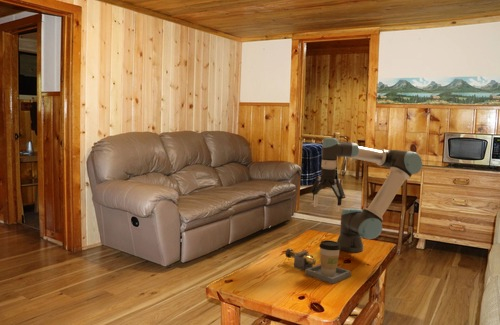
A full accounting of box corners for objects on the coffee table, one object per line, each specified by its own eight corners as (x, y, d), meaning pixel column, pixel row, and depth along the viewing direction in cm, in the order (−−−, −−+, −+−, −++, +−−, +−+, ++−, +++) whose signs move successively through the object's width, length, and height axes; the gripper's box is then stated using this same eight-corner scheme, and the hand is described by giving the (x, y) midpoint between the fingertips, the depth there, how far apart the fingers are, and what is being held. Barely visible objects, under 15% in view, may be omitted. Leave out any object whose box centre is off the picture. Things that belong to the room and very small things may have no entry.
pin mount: (302, 264, 205) (303, 250, 204) (312, 267, 200) (313, 253, 200) (293, 267, 200) (294, 252, 199) (303, 270, 195) (304, 256, 195)
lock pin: (290, 256, 208) (291, 247, 208) (316, 265, 197) (317, 256, 196) (285, 258, 205) (285, 249, 205) (310, 267, 194) (311, 258, 193)
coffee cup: (339, 279, 185) (341, 247, 183) (317, 276, 187) (319, 245, 185) (338, 271, 194) (340, 241, 193) (318, 269, 196) (319, 239, 195)
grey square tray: (324, 267, 201) (324, 262, 201) (350, 276, 191) (351, 271, 190) (305, 274, 191) (305, 269, 191) (332, 284, 180) (332, 279, 180)
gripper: (304, 166, 215) (302, 205, 217) (345, 171, 197) (342, 214, 199) (313, 165, 220) (311, 204, 222) (354, 170, 202) (351, 212, 204)
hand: (326, 209), depth 210 cm, fingers open, 13 cm apart
